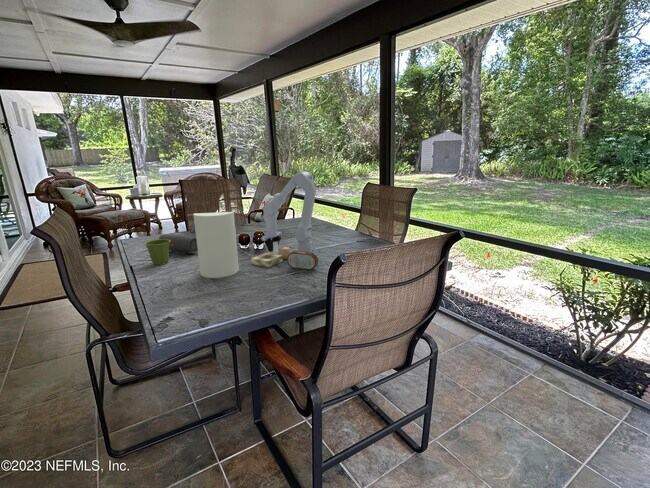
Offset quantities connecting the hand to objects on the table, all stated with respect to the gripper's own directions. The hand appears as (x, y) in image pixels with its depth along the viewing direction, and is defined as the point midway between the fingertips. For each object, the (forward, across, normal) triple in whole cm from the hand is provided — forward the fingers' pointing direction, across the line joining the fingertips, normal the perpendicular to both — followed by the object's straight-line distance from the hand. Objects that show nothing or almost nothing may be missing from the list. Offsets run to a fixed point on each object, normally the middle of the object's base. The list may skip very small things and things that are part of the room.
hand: (273, 250), depth 183 cm
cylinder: (+2, +34, -4) cm, 34 cm away
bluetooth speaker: (+2, +23, -49) cm, 54 cm away
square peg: (+2, 0, 0) cm, 2 cm away
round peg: (+2, +2, +10) cm, 10 cm away
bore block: (+2, +13, +7) cm, 15 cm away
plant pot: (+2, +40, -41) cm, 57 cm away
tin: (+2, +12, +28) cm, 31 cm away
